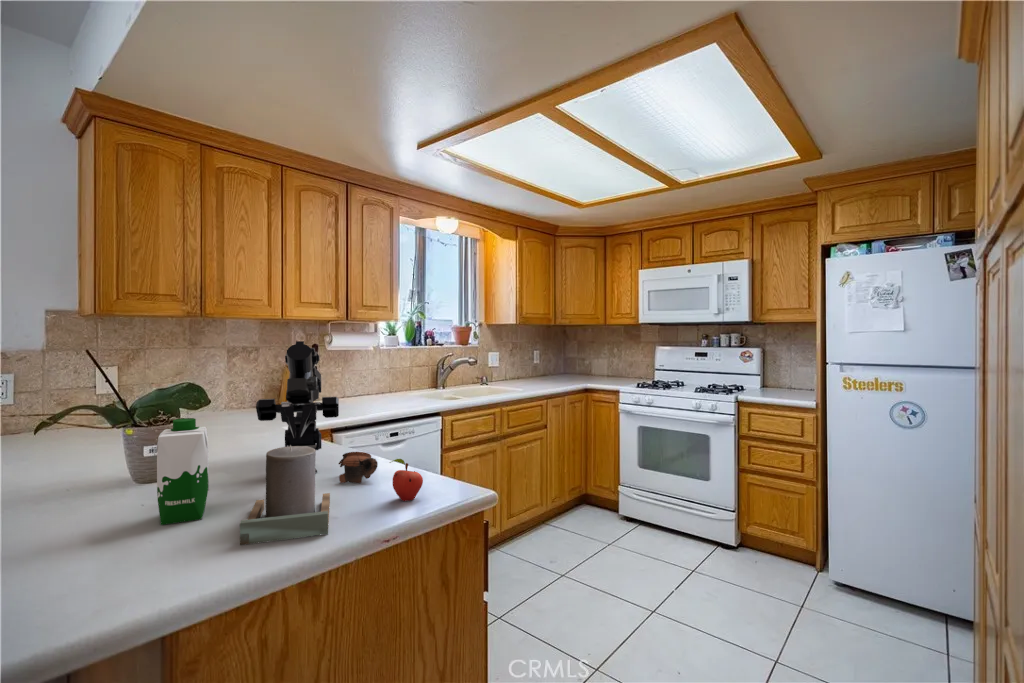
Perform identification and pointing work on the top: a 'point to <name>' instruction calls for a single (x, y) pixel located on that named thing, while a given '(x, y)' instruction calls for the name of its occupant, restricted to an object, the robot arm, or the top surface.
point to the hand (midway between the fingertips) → (297, 436)
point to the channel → (283, 524)
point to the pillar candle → (290, 481)
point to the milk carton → (182, 472)
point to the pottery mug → (357, 467)
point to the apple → (406, 482)
